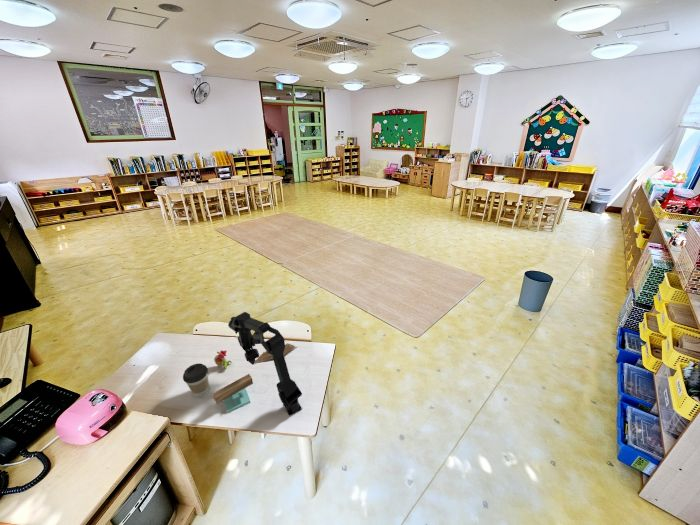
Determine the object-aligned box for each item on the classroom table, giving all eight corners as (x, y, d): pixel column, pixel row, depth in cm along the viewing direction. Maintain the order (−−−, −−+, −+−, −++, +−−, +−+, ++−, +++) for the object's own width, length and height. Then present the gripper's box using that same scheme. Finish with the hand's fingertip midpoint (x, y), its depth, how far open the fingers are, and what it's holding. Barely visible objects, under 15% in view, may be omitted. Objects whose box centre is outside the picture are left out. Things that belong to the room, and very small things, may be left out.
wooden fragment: (293, 341, 185) (293, 340, 184) (299, 353, 176) (298, 351, 175) (251, 356, 175) (251, 354, 174) (255, 368, 166) (254, 367, 165)
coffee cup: (198, 381, 158) (191, 360, 151) (218, 384, 156) (211, 362, 150) (184, 399, 148) (176, 378, 141) (205, 402, 146) (197, 380, 139)
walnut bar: (253, 383, 148) (251, 377, 147) (216, 404, 138) (214, 398, 136) (250, 379, 151) (248, 373, 149) (214, 399, 140) (212, 393, 139)
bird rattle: (217, 373, 166) (230, 369, 163) (205, 358, 162) (218, 354, 159) (223, 365, 171) (235, 361, 169) (212, 350, 167) (224, 347, 165)
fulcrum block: (250, 402, 145) (248, 393, 143) (227, 413, 140) (224, 404, 138) (244, 387, 154) (242, 378, 151) (222, 396, 149) (220, 388, 146)
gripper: (267, 339, 145) (271, 363, 151) (256, 320, 159) (260, 342, 166) (244, 348, 139) (249, 372, 146) (234, 327, 154) (240, 350, 161)
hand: (250, 358), depth 155 cm, fingers open, 9 cm apart
